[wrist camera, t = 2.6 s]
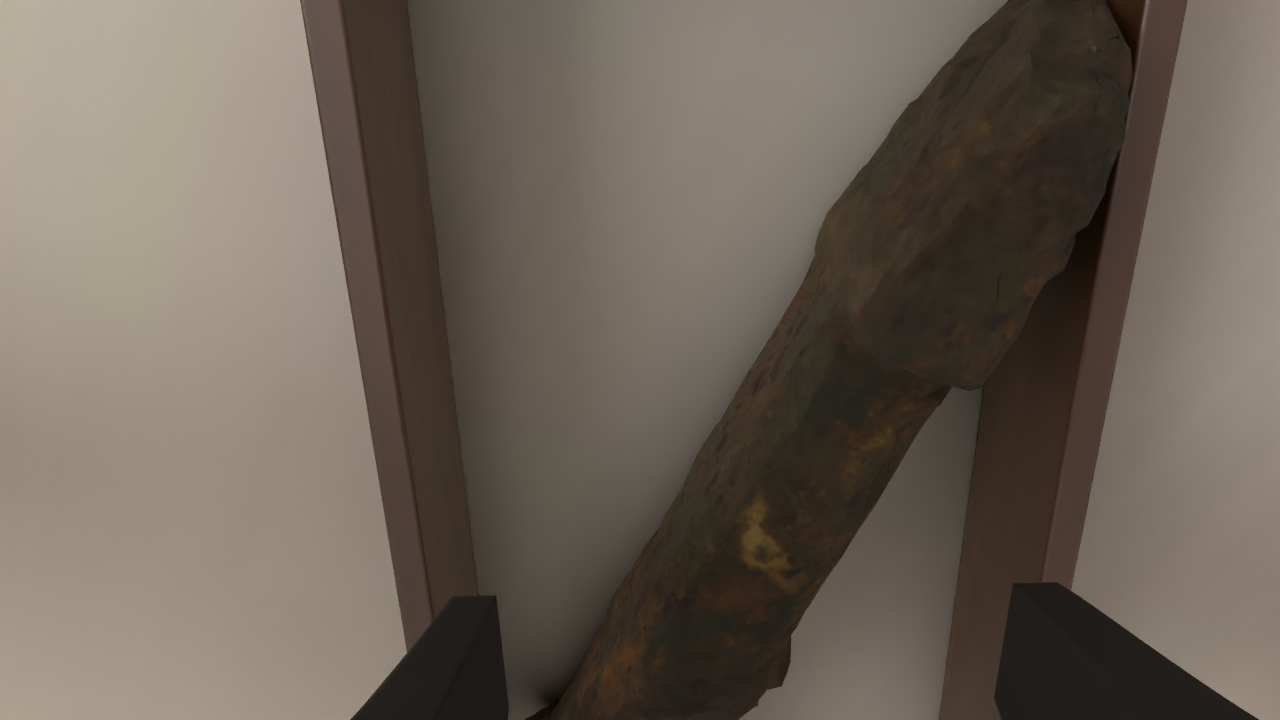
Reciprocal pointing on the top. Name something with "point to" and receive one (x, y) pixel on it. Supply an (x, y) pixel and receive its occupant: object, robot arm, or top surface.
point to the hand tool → (867, 359)
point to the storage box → (1013, 394)
